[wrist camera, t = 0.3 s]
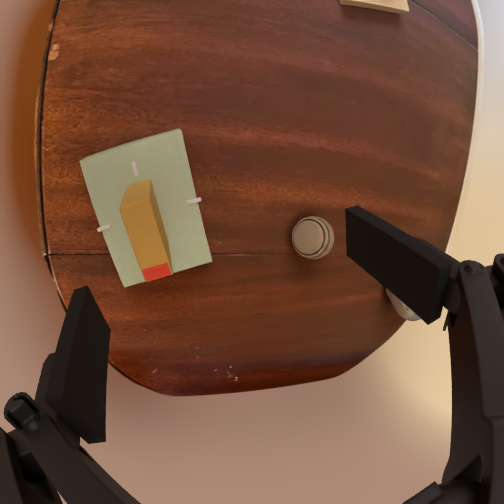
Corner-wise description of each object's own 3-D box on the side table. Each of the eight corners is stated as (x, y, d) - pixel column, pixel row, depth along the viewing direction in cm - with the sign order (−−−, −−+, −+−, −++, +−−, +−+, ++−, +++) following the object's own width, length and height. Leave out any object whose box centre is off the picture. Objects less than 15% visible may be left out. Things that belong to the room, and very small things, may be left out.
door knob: (316, 204, 37) (337, 218, 33) (325, 238, 40) (345, 254, 35) (280, 221, 37) (298, 237, 32) (291, 254, 39) (309, 273, 35)
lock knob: (126, 186, 27) (118, 208, 20) (150, 178, 27) (149, 199, 21) (145, 247, 30) (145, 284, 24) (168, 240, 30) (173, 276, 24)
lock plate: (82, 157, 27) (75, 162, 24) (182, 127, 29) (185, 128, 26) (122, 274, 33) (121, 289, 31) (210, 249, 35) (215, 261, 33)
